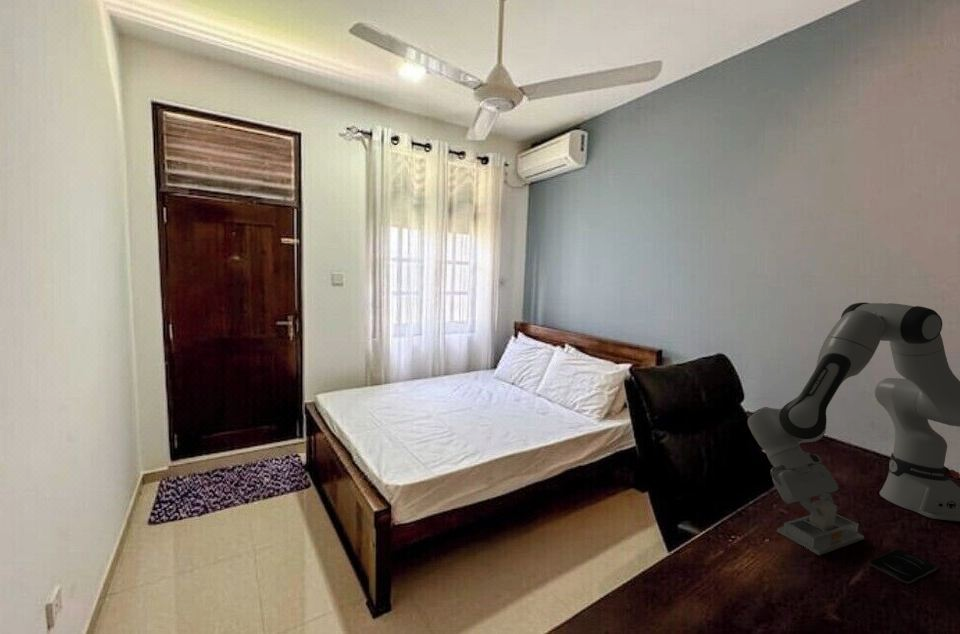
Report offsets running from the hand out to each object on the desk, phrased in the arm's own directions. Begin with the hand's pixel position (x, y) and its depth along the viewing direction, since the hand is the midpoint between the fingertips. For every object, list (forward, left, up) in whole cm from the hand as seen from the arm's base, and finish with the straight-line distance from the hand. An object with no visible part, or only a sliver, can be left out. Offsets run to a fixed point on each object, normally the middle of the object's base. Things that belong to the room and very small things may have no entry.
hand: (826, 514), depth 109 cm
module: (0, 0, -5) cm, 5 cm away
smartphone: (-14, +7, -7) cm, 17 cm away
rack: (0, 0, -6) cm, 6 cm away
